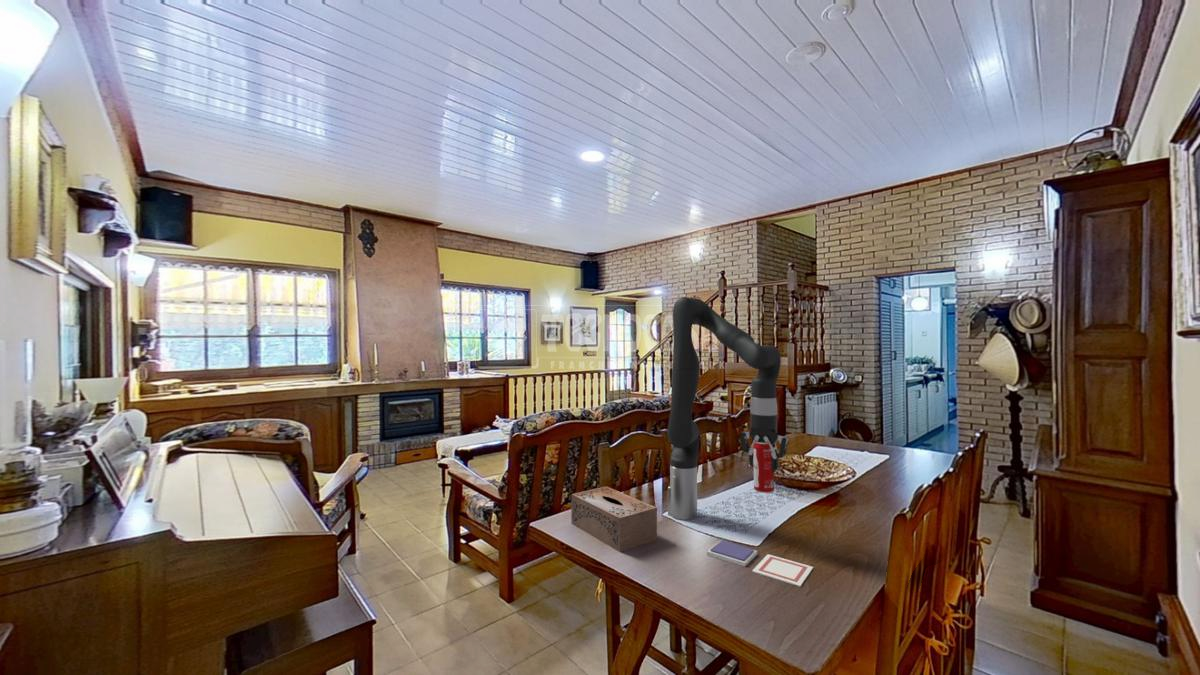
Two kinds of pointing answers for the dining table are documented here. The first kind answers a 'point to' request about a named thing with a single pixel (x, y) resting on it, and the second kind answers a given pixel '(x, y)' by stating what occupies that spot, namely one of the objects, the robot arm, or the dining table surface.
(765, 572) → the marked card
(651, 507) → the tissue box cover
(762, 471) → the beverage can
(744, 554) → the ink pad
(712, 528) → the dining table surface
